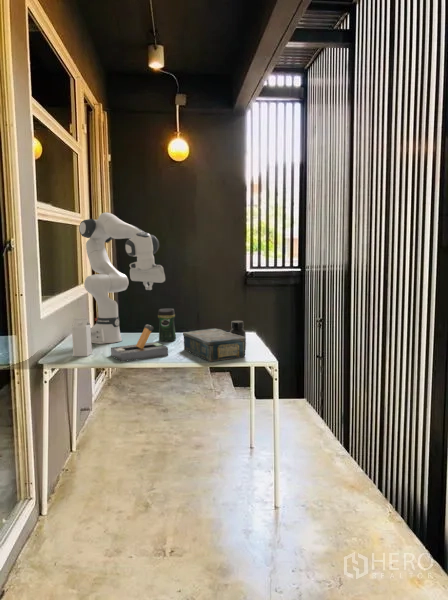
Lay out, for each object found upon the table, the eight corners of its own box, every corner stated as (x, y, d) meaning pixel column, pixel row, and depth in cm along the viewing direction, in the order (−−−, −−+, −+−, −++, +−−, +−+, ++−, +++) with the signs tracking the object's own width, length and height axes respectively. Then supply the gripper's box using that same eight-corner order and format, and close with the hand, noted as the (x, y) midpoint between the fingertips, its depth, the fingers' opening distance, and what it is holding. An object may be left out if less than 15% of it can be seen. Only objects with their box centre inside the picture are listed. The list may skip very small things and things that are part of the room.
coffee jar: (177, 339, 278) (176, 307, 276) (173, 341, 270) (173, 309, 268) (161, 338, 279) (160, 307, 277) (157, 341, 271) (156, 309, 269)
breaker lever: (139, 347, 234) (150, 325, 236) (135, 345, 239) (145, 323, 241) (143, 349, 235) (154, 327, 237) (139, 347, 240) (150, 325, 242)
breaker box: (121, 361, 225) (121, 352, 224) (111, 355, 238) (110, 346, 238) (168, 355, 237) (167, 346, 236) (155, 349, 250) (155, 341, 250)
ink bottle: (248, 341, 268) (247, 320, 266) (244, 344, 259) (244, 323, 258) (231, 340, 270) (231, 320, 269) (227, 344, 262) (226, 322, 260)
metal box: (208, 363, 221) (207, 342, 220) (182, 350, 250) (181, 331, 249) (247, 357, 231) (247, 337, 230) (218, 345, 259) (217, 327, 258)
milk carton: (78, 353, 244) (76, 316, 242) (91, 353, 244) (90, 316, 242) (73, 356, 237) (71, 319, 235) (87, 356, 237) (85, 318, 235)
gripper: (166, 263, 245) (168, 289, 249) (134, 262, 254) (136, 286, 258) (159, 266, 240) (162, 292, 244) (126, 264, 249) (129, 290, 253)
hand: (148, 289), depth 251 cm, fingers closed
